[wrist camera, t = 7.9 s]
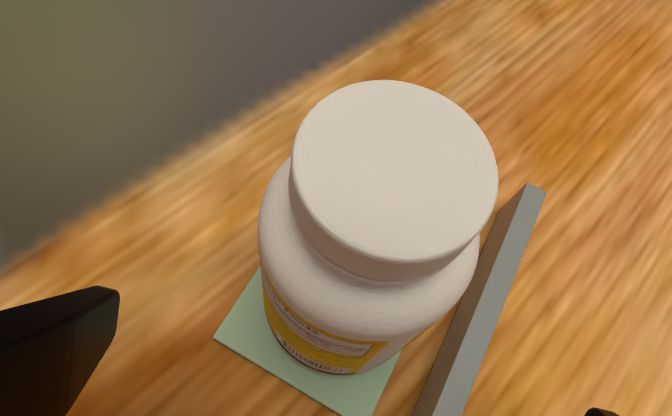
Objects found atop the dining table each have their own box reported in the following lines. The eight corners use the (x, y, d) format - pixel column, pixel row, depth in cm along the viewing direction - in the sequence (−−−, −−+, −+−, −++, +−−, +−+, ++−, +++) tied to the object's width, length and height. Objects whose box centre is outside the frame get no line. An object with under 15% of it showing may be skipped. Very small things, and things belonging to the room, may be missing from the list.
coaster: (363, 429, 16) (365, 428, 16) (213, 339, 17) (212, 336, 17) (441, 261, 19) (444, 257, 19) (312, 190, 20) (313, 185, 20)
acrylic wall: (399, 508, 16) (421, 520, 13) (377, 495, 16) (396, 504, 13) (516, 218, 21) (546, 192, 18) (499, 209, 21) (527, 182, 19)
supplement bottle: (382, 219, 19) (472, 36, 11) (430, 353, 17) (592, 262, 9) (248, 249, 18) (226, 71, 9) (283, 398, 16) (296, 345, 7)
